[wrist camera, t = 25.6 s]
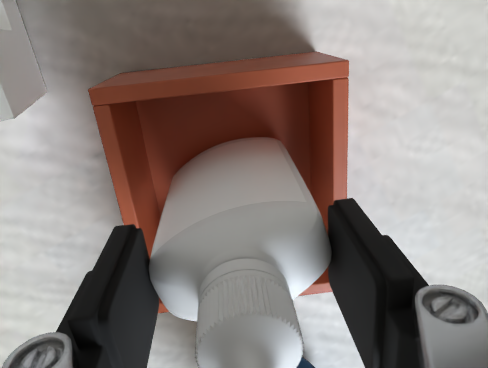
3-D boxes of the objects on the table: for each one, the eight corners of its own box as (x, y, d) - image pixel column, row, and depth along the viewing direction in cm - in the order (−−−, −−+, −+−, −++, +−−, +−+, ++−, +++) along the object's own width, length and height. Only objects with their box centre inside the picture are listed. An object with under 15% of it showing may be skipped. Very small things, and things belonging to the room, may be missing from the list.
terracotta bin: (119, 73, 17) (87, 88, 13) (316, 51, 17) (349, 59, 13) (161, 257, 21) (147, 315, 17) (320, 237, 21) (346, 290, 17)
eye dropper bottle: (177, 122, 17) (101, 313, 6) (297, 139, 17) (438, 339, 6) (169, 207, 18) (98, 483, 7) (279, 220, 19) (364, 488, 8)
